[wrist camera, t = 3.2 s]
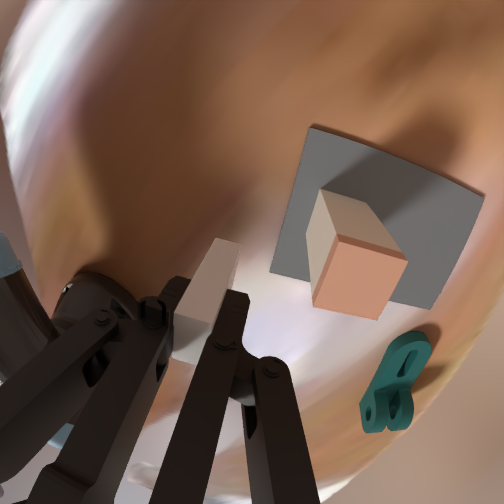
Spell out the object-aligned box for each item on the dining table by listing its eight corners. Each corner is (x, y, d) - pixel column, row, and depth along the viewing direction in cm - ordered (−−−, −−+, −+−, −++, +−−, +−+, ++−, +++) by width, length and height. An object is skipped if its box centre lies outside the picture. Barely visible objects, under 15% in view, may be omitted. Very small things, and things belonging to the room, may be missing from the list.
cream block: (305, 233, 30) (312, 306, 19) (319, 188, 27) (339, 241, 17) (350, 245, 29) (377, 320, 19) (366, 202, 27) (408, 261, 17)
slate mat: (269, 269, 33) (269, 272, 32) (309, 127, 25) (309, 127, 25) (428, 307, 32) (430, 309, 32) (482, 197, 25) (484, 198, 24)
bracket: (392, 401, 43) (399, 436, 36) (359, 402, 43) (363, 439, 36) (433, 329, 34) (452, 369, 27) (394, 330, 35) (409, 373, 28)
